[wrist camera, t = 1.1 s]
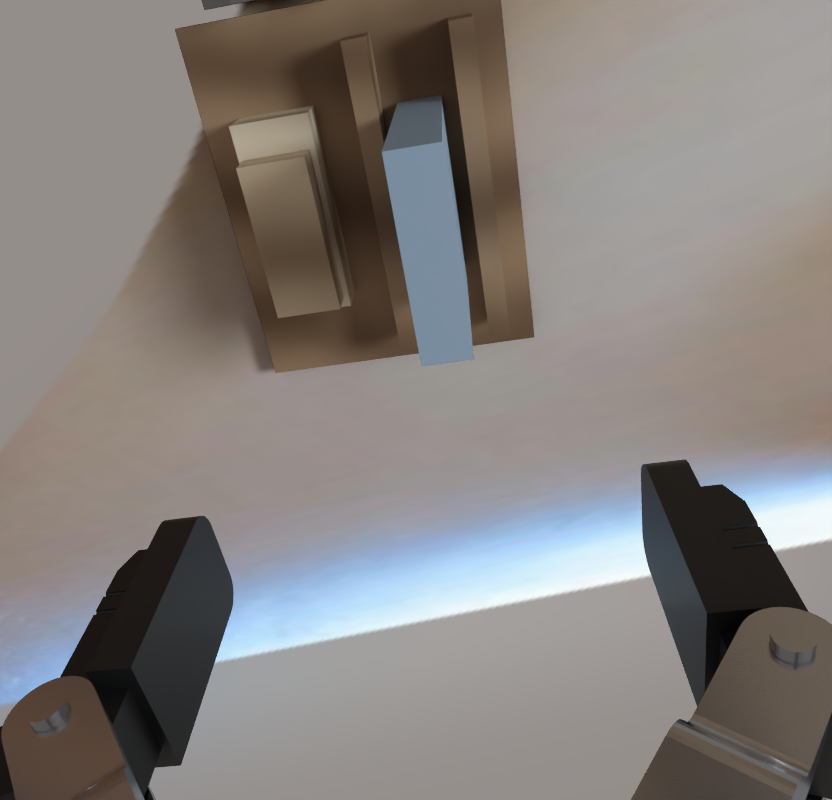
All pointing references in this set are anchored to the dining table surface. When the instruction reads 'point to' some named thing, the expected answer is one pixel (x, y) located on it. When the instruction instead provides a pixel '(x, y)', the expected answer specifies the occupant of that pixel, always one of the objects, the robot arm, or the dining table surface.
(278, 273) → the offcut stack
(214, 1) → the stand
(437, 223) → the tall sheet
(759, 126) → the dining table surface
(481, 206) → the offcut rack
